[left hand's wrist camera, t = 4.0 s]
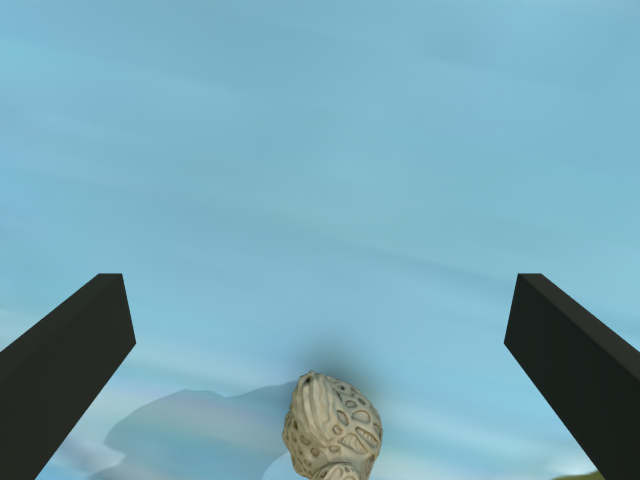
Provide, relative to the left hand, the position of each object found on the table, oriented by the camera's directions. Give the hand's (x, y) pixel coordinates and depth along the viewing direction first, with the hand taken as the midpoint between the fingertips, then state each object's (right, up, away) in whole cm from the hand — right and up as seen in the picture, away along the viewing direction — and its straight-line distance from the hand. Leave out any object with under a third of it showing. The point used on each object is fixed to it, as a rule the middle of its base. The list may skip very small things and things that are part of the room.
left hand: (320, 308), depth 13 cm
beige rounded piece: (+2, -19, +37) cm, 42 cm away
